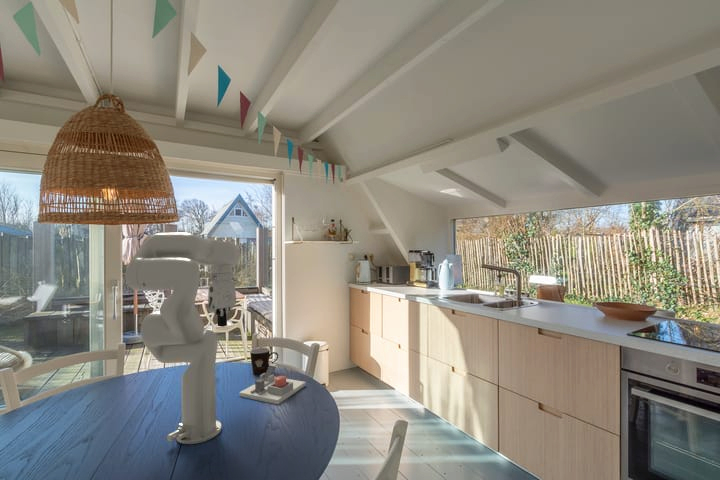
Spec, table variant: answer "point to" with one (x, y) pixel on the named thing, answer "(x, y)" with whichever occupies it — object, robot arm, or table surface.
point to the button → (280, 381)
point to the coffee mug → (261, 360)
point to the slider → (259, 385)
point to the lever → (270, 370)
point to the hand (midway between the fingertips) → (222, 325)
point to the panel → (273, 390)
